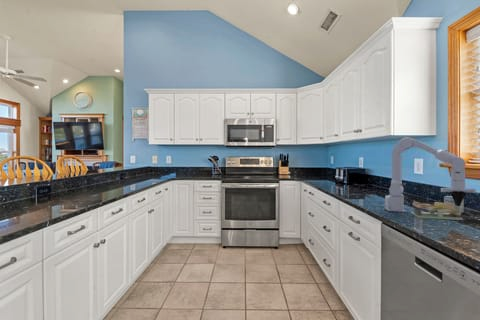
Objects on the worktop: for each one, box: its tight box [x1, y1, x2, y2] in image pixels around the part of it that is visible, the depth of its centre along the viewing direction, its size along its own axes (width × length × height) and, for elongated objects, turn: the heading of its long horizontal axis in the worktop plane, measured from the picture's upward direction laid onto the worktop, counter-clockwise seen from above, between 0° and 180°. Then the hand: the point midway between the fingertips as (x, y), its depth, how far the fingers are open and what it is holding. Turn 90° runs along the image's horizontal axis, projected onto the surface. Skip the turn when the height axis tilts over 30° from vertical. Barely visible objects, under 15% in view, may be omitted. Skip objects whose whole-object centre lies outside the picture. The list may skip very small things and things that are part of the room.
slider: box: [433, 201, 452, 210], centre depth 134 cm, size 6×5×3 cm
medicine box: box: [443, 195, 465, 214], centre depth 145 cm, size 8×4×9 cm, turn 27°
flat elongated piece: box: [412, 201, 462, 216], centre depth 135 cm, size 19×9×2 cm, turn 74°
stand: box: [410, 208, 464, 221], centre depth 135 cm, size 20×11×5 cm, turn 73°
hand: (457, 205), depth 132 cm, fingers closed
